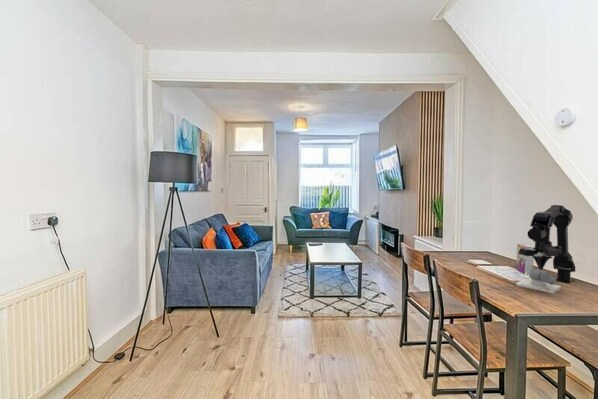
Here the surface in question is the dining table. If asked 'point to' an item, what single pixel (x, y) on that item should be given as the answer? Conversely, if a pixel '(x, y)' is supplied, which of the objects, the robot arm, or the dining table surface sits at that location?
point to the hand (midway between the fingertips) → (540, 269)
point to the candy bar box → (524, 260)
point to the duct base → (527, 284)
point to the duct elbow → (542, 276)
